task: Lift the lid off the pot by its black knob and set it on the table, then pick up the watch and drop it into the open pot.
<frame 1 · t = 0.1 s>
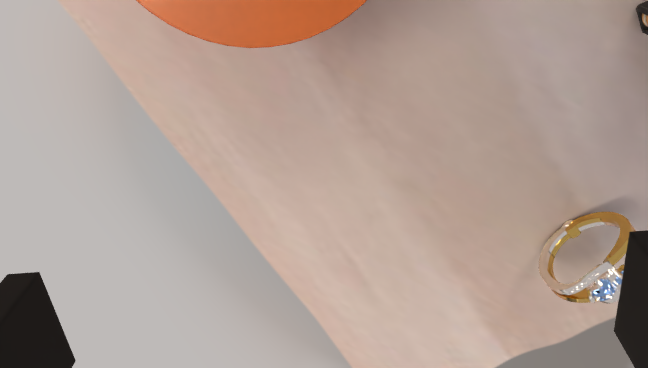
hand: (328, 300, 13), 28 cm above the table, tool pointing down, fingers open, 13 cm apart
ring: (568, 223, 45), on the table
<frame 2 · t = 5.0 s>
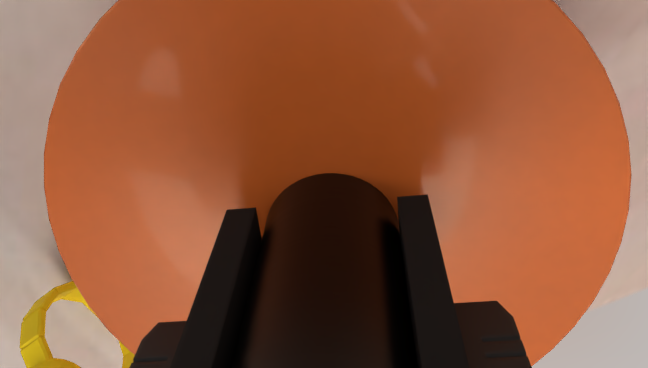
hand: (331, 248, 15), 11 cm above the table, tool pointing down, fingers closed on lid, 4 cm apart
lid: (332, 219, 17), point 10 cm above the table, touching gripper
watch: (109, 303, 31), on the table
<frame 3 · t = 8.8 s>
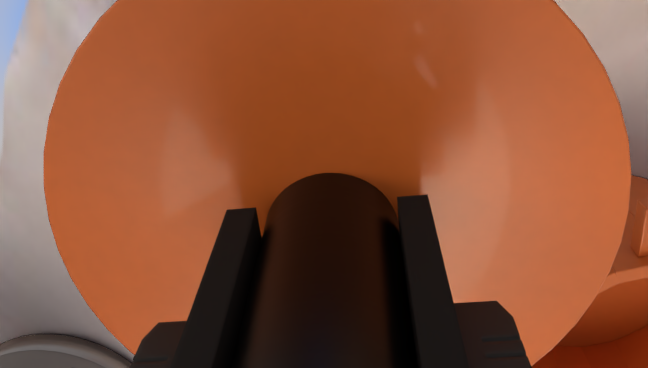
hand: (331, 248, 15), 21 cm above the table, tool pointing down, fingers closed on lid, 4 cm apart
lid: (332, 219, 17), point 19 cm above the table, touching gripper
pot: (586, 268, 40), on the table
when the fingers open (2 cm above the table, at t = 13.0 s): lid stays where it is, point 1 cm above the table.
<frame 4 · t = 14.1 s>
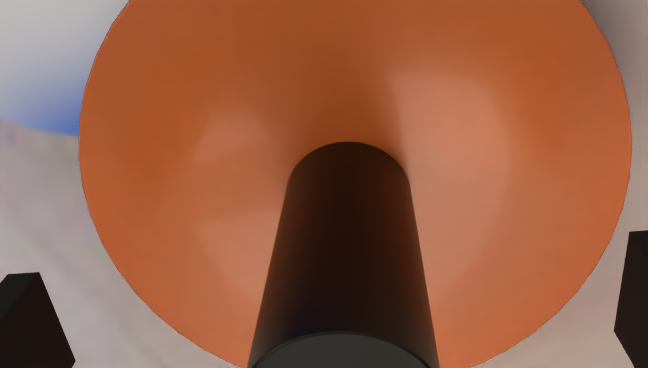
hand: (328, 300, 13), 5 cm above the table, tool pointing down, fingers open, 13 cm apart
lid: (348, 187, 18), point 1 cm above the table
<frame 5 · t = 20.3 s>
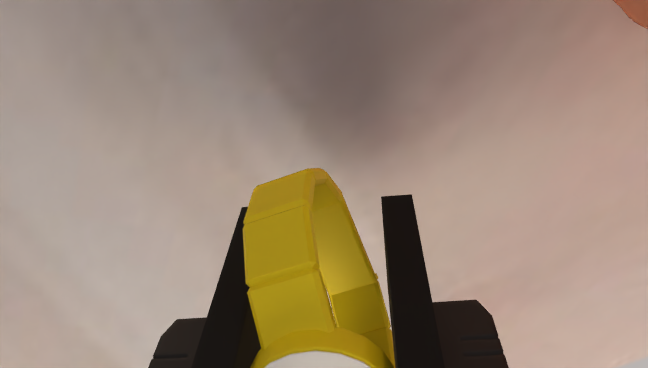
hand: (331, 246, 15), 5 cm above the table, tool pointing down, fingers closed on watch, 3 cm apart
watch: (334, 232, 16), point 4 cm above the table, touching gripper
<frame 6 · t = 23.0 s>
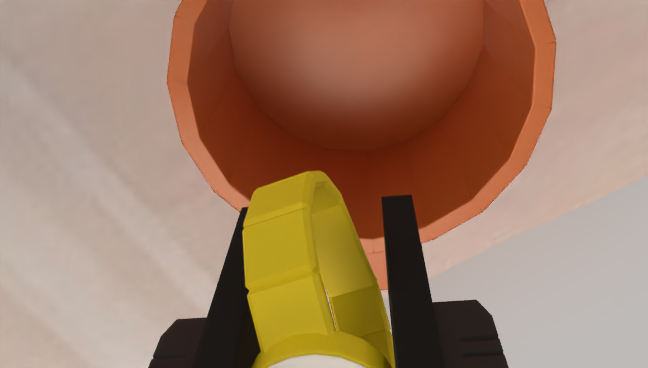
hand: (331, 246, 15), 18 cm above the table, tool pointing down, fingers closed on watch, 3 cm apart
pot: (355, 34, 31), on the table
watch: (333, 235, 16), point 18 cm above the table, touching gripper
when the fingers open (8 cm above the table, at t = 25.9 s): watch drops 6 cm, resting on pot.
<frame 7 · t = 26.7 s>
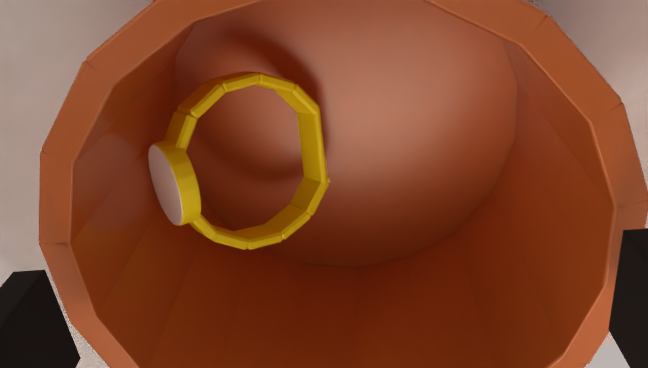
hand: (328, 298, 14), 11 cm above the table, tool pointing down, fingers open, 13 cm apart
pot: (342, 121, 23), on the table
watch: (321, 137, 22), point 1 cm above the table, touching pot
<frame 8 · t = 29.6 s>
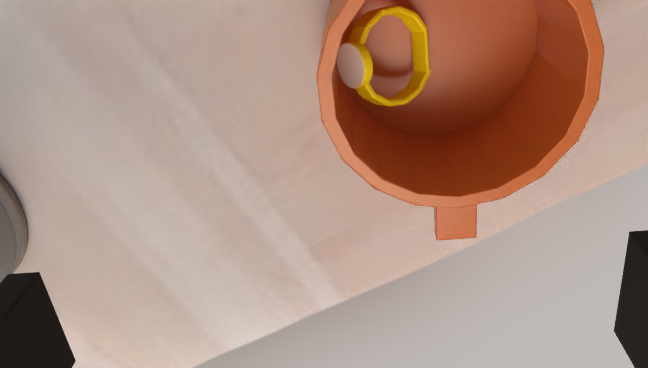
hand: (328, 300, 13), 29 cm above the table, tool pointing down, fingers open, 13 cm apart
pot: (434, 40, 39), on the table
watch: (425, 47, 38), point 1 cm above the table, touching pot
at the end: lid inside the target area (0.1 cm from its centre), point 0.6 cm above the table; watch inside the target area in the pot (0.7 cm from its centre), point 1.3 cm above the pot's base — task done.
